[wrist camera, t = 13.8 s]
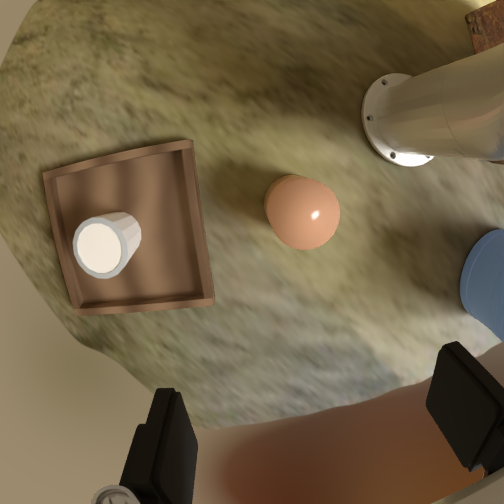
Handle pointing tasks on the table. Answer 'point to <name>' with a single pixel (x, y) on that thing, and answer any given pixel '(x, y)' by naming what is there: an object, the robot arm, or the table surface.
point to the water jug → (485, 282)
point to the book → (487, 29)
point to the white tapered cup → (106, 243)
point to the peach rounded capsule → (301, 211)
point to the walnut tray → (150, 221)
